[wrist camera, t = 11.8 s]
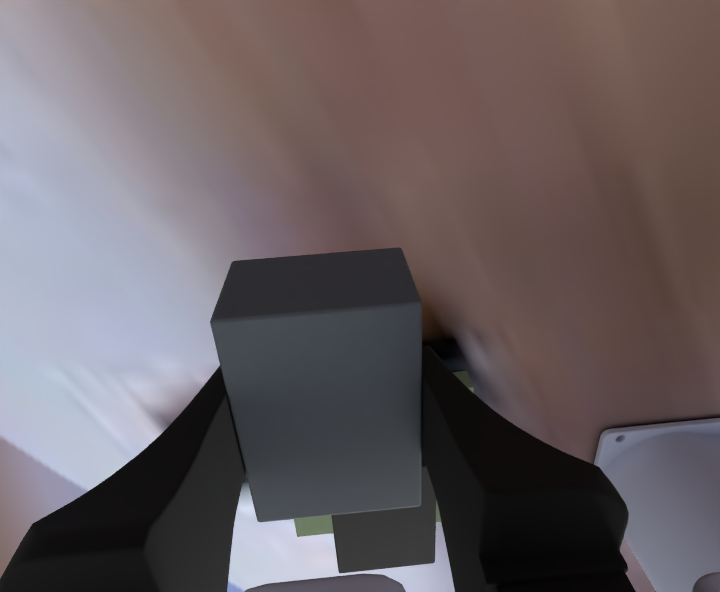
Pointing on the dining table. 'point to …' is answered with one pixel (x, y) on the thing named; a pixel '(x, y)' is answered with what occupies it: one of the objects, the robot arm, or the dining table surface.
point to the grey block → (324, 381)
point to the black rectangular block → (388, 534)
